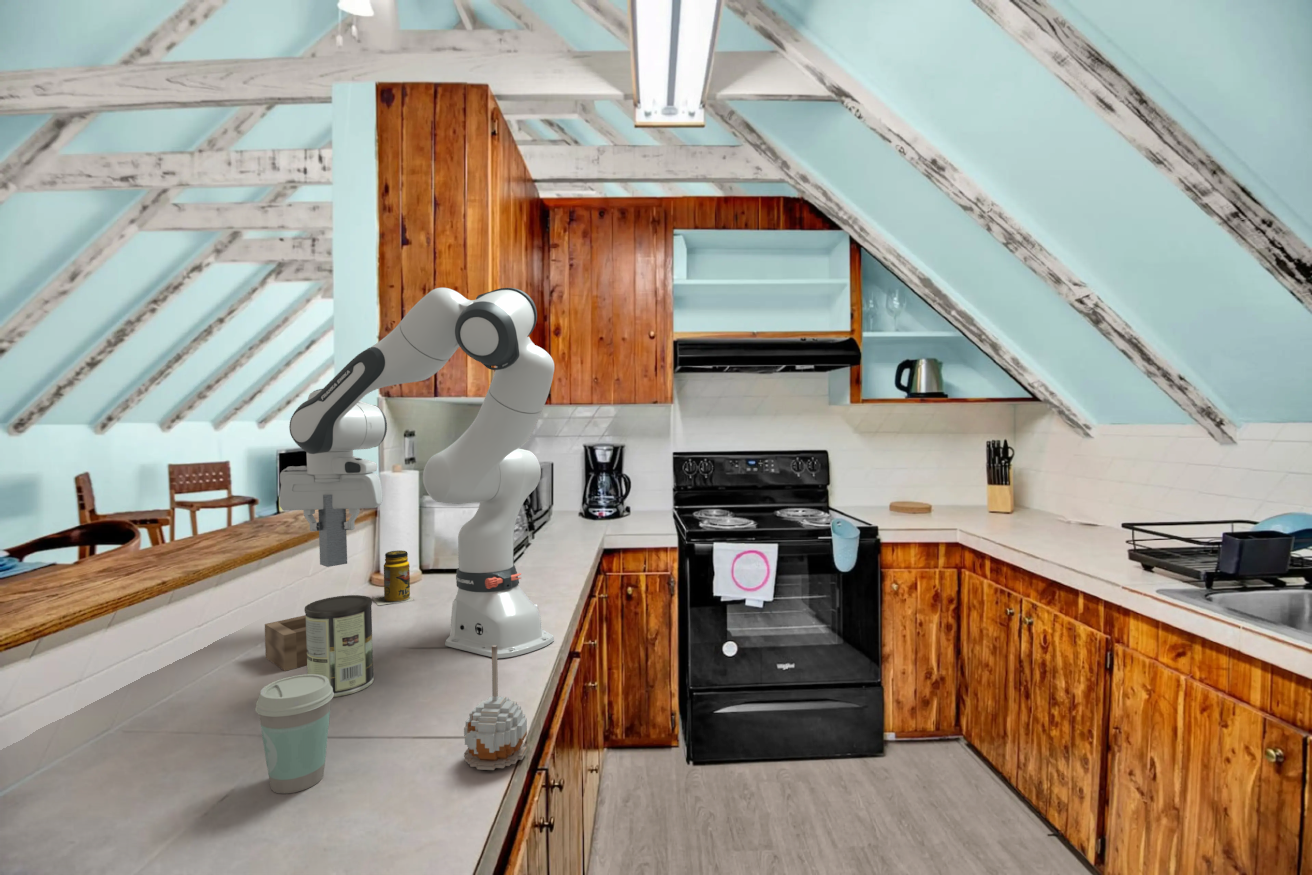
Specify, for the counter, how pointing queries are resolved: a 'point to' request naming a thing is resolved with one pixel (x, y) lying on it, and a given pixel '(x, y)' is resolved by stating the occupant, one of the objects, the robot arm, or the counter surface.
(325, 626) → the coffee can
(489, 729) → the voxel caramel apple
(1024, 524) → the counter surface
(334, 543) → the steel bar
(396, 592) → the condiment
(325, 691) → the coffee cup
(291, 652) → the walnut holder
